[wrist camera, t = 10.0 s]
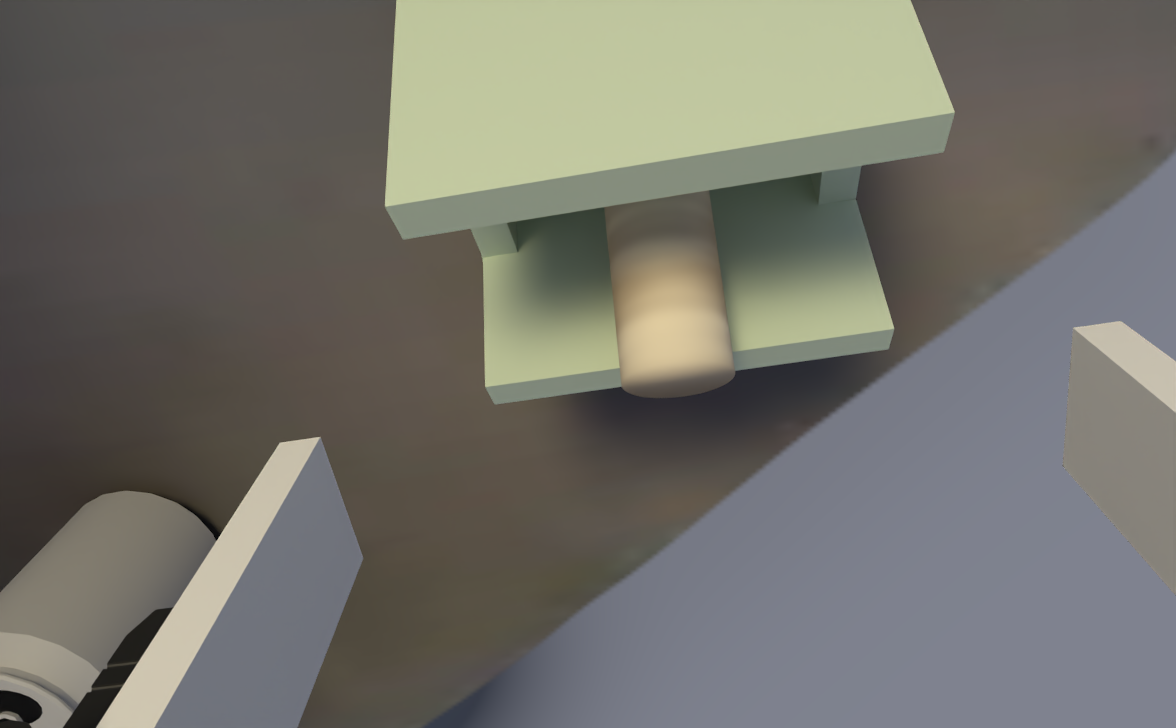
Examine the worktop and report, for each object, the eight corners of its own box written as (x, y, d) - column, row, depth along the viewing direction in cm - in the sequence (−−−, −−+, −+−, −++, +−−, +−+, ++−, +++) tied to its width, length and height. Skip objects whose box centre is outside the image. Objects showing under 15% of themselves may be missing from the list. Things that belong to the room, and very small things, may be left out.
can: (211, 478, 42) (68, 664, 31) (245, 602, 45) (127, 810, 34) (59, 482, 42) (-136, 667, 31) (104, 604, 45) (-59, 811, 34)
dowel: (580, 9, 27) (614, 368, 23) (682, -9, 27) (735, 353, 23) (595, 74, 30) (628, 403, 26) (687, 59, 30) (735, 390, 26)
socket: (412, -118, 31) (236, -177, 16) (816, -200, 29) (1004, -342, 15) (507, 303, 37) (440, 519, 23) (840, 253, 36) (986, 450, 22)
